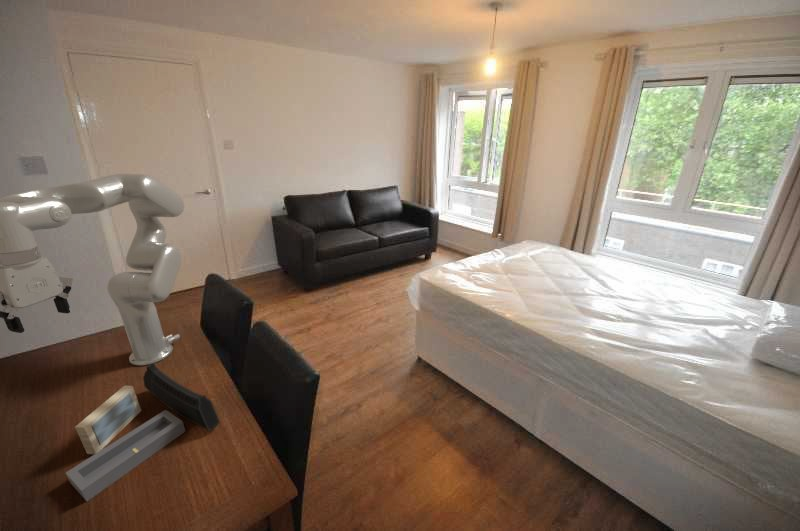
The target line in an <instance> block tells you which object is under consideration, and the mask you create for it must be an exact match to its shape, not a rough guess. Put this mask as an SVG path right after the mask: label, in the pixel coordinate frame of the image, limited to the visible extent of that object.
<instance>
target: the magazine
mask: <svg viewBox="0 0 800 531" xmlns="http://www.w3.org/2000/svg"><path fill="white" fill-rule="evenodd" d="M142 378H143V383H144V384H143V386H144V387H145V389H147V391H148V392H150V393H151V394H152V395H153V396H154V397H156V398H157V399H158V400H159V401H160V402H162V403H163V404H164V405H166V406H167V407H168V408H169V409H170V410H172V411H174V412H175V413H177V414H178V415H180V416H181V417H183V418H185V419H186V420H188V421H190V422H192V423H194V424H196V425H197V426H199V427H201V428H202V429H203V428H204V429H206V430H207V431H211V430H214V429H215V428H216V427H217V426H218V425H219V424H220V423H221V422H220V419H219V417H218V415H217V412H216V409H215V407H214V405H213V403H212V400H211V399H209V398H207V395H204V394H201V393H200V394H199V393H197V392H194V391H192V390H191V389H189V388H188V387H185V386H183V385H182V384H180V383H178V382H177V381H175V380H174V379H173V378H171V377H170V376H168V375H167V374H166V373H164V372H163V371H162V370H161V369H160V368H158V367H157V366H156V365H155V363H152V364H148V366H147V365H146V370H145V372H144V374H143V377H142Z"/></svg>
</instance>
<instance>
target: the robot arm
mask: <svg viewBox="0 0 800 531" xmlns="http://www.w3.org/2000/svg"><path fill="white" fill-rule="evenodd" d="M125 203H128V207H129V210H130V212H131V214H132V215H133V217H134V219H135V222H136V231H135V234H134V237H133V238H132V241H131V244H130V246H129V249H128V251H127V253H126V256H125V263H126V265H127V266H128V267H129V268H131V269H132V270H137V271H124V272H119V273H116V274H114V275H112V277H111V278H110V279H109V280H108V283H107V287H106V288H107V292H108V295H109V297H110V299H111V300H112V301H113V303H114V304H115V306H116V308H117V311H118V312H119V315H120V317H121V321H122V323H123V327H124V329H125V332H126V336H127V338H128V342H129V344H130V345H129V346H130V347H131V350H132V352H131V354H130V355H129V357H128V359H129V360H128V361H129V363H130V364H132V365H134V366H147V365H148V366H149V365H151V364H155V363H157V362H160V361H162V360H164V359H165V358H167V357H168V356H169V355H171V354H172V352H173V350H174V348H173V345H172V344H173V342H175V341H178V340H180V339H181V335H180V334H179V333H177V334H175V335H173V334H172V333H170V334H168V335H167V336H165V335H164V332H163V329H162V324H161V321H160V318H159V315H158V310H157V307H156V305H155V303H159V302H160V303H161V302H163V301H165V300H166V299H167V298H169V297H170V295H171V293H172V290H173V288H174V285H175V282H176V280H177V277H178V273H179V270H180V268H181V265H182V255H181V254H182V253H181V251H180V249H179V248H178V247H177V246H176V245H174V244H171V243H165V241H166V238H167V230H166V228H165V226H164V224H163V223H162V221H161V219H160V218H177V217H180V216H181V215H182V214H183V212H184V210H185V204H184V200H183V198H182V197H181V196H180V195H179V194H178V193H177V192H176V191H174V190H173V189H171V188H170V187H168V185H166V184H165V183H163V182H161V181H159V179H157V178H154V177H153V176H150V175H148V174H140V173H136V174H135V173H116V174H115V173H114V174H110V175H107V176H103V177H100V178H99V177H98V178H94V179H90V180H85V181H81V182H76V183H70V184H68V183H67V184H63V185H57V186H51V187H44V188H37V189H32V190H27V191H23V192H18V193H14V194H10V195H6V196H3V197H1V198H0V305H1V306H2V309H1V310H0V319H2V320H3V321H4V323H5V325H6V328H7V329H8V330H9V331H10V332H12V333H17V334H18V333H19V334H23V333H24V332H25V327H24V324H23V323H22V321H21V319H20V317H19V316H16V315H17V314H18V311H19V310H20V309H24V308H27V307H30V306H33V305H36V304H39V303H41V302H45V301H47V300H49V299H53V302H54V306H55V307H56V311H57V313H58V314H59V313H61V314H67V315H68V314H70V313H71V310H70V304H69V302H68V298H69V294H70V292H71V290H72V284H73V281H74V280H73V278H71V277H63V276H59V275H58V274H57V272H56V270H55V268H54V266H53V265H52V264H51V262H50V260H48V258H47V257H46V256H42V255H41V252H40V250H39V247H38V244H37V242H36V239H35V236H34V233H33V232H34V231H40V230H41V231H42V230H50V229H58V228H61V227H63V226H65V225H66V224H68V223H69V222H70V220H71V219H72V215H77V214H82V215H83V214H91V213H98V212H103V211H105V210H107V209H111V208H113V207H116V206H119V205H122V204H125ZM138 271H139V272H138ZM140 271H141V272H140ZM142 271H146V272H142Z"/></svg>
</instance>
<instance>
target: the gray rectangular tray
mask: <svg viewBox="0 0 800 531" xmlns="http://www.w3.org/2000/svg"><path fill="white" fill-rule="evenodd" d="M184 433H186V428H185V426H184V422H183V420H181V419H180V418H179V417H177V416H175V415H174V414H173V413H171V412H169V410H166V409H165V410H163V411H162V412H160V413H158V414H156V415H155V416H153V417H151V418H149V420H147V421H145V422H143V423H142V424H141V425H139V426H138V427H137V426H136V428H134V429H133V430H131V431H129V432H128V433H126V434H125V435H122V437H120V438H118V439H117V440H115V441H113V442H112V443H111V444H108V445H106V446H105V447H104V448H103V449H102V450H101V451H99V452H98V453H96V454H92V456H89V458H86V459H85V460H84V461H82V462H79V463H78V464H77V465H76V466H74V467H72V468H71V469H69V470H67V471H66V472H65V474H66V477H67V479H68V481H69V483H70V485H72V486H73V488H74V489H75V490H76V491H77V492H78V494H80V496H81V497H82V499H84V500H85V502H89V501H90V500H91V499H92V498H94V497H95V496H97V495H99V494H100V493H101V492H103V491H104V490H105V489H107V488H108V487H109V486H111V485H112V484H114V483H115V482H116V481H118V480H120V479H121V478H122V477H123V476H125V475H126V474H128V473H130V471H132V470H134V469H135V468H136V467H138V466H139V465H140V464H142V463H143V462H145V461H146V460H148V459H149V458H151V457H152V456H153V455H155V454H156V453H157V452H159V451H160V450H161V449H163V448H164V447H166V446H168V444H170V443H171V442H172V441H174V440H175V439H177V438H178V437H180V436H181V435H182V434H184Z"/></svg>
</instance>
